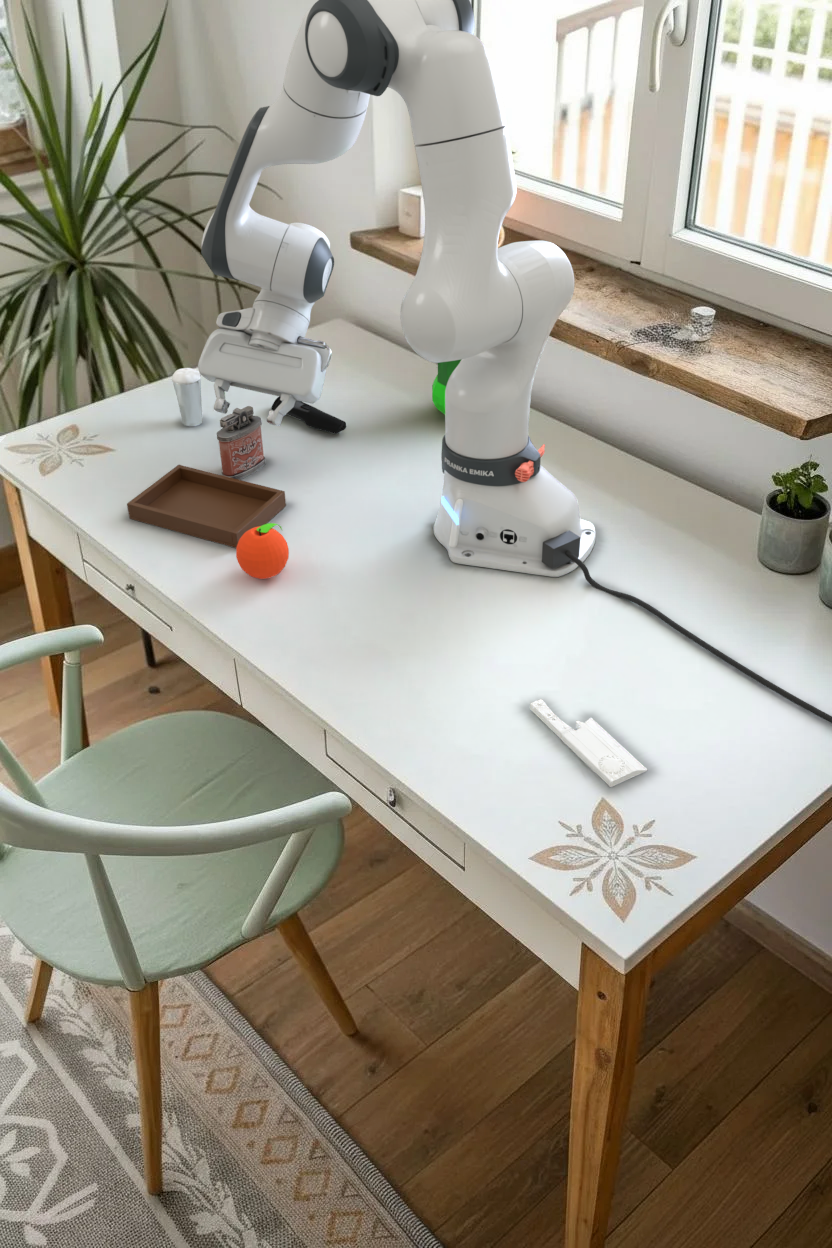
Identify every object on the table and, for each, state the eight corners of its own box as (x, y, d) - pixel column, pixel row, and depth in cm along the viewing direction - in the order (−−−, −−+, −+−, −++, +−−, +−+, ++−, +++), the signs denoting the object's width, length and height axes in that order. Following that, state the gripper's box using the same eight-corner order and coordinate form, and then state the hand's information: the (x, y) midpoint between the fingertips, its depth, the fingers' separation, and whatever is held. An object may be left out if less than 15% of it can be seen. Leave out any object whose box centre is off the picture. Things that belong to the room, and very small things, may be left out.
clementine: (264, 551, 167) (259, 506, 162) (305, 565, 164) (301, 520, 160) (228, 579, 161) (222, 534, 157) (270, 594, 158) (265, 548, 154)
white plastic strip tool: (565, 694, 141) (566, 687, 140) (647, 771, 131) (648, 764, 130) (529, 708, 139) (530, 701, 138) (609, 788, 129) (610, 780, 128)
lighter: (255, 457, 188) (248, 398, 182) (270, 463, 186) (264, 404, 180) (217, 477, 183) (209, 417, 177) (232, 484, 181) (225, 424, 176)
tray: (286, 506, 176) (284, 491, 175) (238, 548, 167) (236, 533, 166) (180, 478, 183) (178, 464, 182) (129, 518, 174) (126, 503, 173)
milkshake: (209, 428, 196) (201, 371, 190) (176, 428, 196) (167, 371, 190) (213, 415, 200) (206, 359, 194) (181, 416, 200) (173, 359, 194)
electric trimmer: (335, 443, 192) (334, 425, 190) (269, 412, 200) (268, 395, 198) (352, 435, 194) (351, 417, 192) (286, 405, 202) (285, 387, 200)
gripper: (343, 352, 182) (314, 438, 181) (229, 329, 189) (200, 412, 188) (326, 335, 176) (296, 424, 175) (209, 312, 183) (179, 397, 182)
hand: (245, 417), depth 182 cm, fingers open, 8 cm apart
